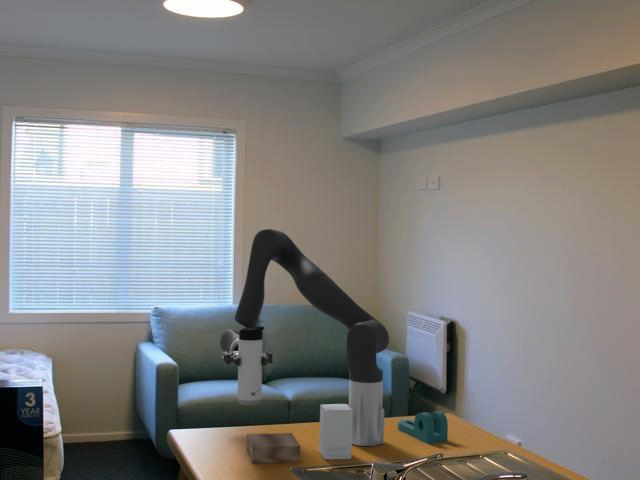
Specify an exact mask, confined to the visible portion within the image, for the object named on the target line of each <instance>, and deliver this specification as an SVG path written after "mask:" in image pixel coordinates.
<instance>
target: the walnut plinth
mask: <svg viewBox="0 0 640 480" xmlns="http://www.w3.org/2000/svg"><path fill="white" fill-rule="evenodd" d="M246 452H247V454H248V456H249V458H250V461H251V464H268V463H269V464H273V463H274V464H275V463H276V464H277V463H293V462H294V463H296V462H301V444H300V443H299V441H298V440H297V439H296V437H295V435H294V434H293V433H292V432H285V433H282V432H281V433H279V432H277V433H252V434H251V433H250V434H249V433H248V434H246Z"/></svg>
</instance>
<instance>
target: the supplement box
mask: <svg viewBox="0 0 640 480" xmlns="http://www.w3.org/2000/svg"><path fill="white" fill-rule="evenodd" d="M319 407H320V412H319V444H318V445H319V446H318V452H319V453H320V455H321V457H322V458H323V460H351V459H352V450H353V449H352V448H353V444H352V411H353V410H352V409H351V408H350V407H349V404H347V403H332V404H331V403H329V404H320V406H319Z"/></svg>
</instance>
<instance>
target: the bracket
mask: <svg viewBox="0 0 640 480" xmlns="http://www.w3.org/2000/svg"><path fill="white" fill-rule="evenodd" d="M448 423H449V422H448V419H447V415H446V414H445V413H444V412H443V411H441V410H439V411H438V410H437V411H431V412H430V413H429V412H419V413H416V415H415V417H414V419H401V420H398V421H397V430H398V431H400V432H401V433H404V434H406V435H407V436H409V437H412V438H414V439H416V440H418V441H420V442H422V443H424V444H427V445H428V444H436V443H445V442H448V434H449V433H448V432H449V426H448V425H449V424H448Z"/></svg>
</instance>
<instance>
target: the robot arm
mask: <svg viewBox="0 0 640 480" xmlns="http://www.w3.org/2000/svg"><path fill="white" fill-rule="evenodd" d="M248 261H249V262H248V266H247V270H246V271H247V272H246V278H245V283H244V287H243V290H242V293H241V297H240V299H239V303H238V306H237V308H236V311H235V315H234V320H235V322H236V323H238V324H240V325H241V326H243V327H244V328H251V327H258V323H259V322H258V321H259V318H260V315H261V312H262V309H263V306H264V302H265V291H266V290H265V279H266V273H267V271H268V270H267V269H268V266H269V265H270V263H271V261H272V262H275V263H276V264H278V265H279V266H280V267H282V268H283V269H284V270H285V271H286V272H287V273H288V274H289V275H290V276H291V278H292V280H293V282H294V284H295V286H296V288H297V289H298V291H299V293H300V294H301V295H302V296H303V297H304V298H305V299H306V301H307V302H308V303H309V304H311V306H312V307H314V308H316V310H318V311H320V312H321V313H323V314H325V315H326V316H328V317H330V318H332V319H334V320H336V321H338V322H339V323H341V324H343V325H344V326H345V327H346V328H347V329H348V332H347V335H346V367H347V370H348V373H349V375H348V376H349V382H348V383H349V385H348V406H349V407H350V408H351V409H352V410H353V411H352V445H355V446H358V447H359V446H360V447H361V446H362V447H374V446H378V445H383V444H384V443H385V441H384V439H385V409H384V408H383V392H384V391H383V390H384V389H383V388H384V387H383V385H384V384H383V382H384V372H383V369H381V368H380V367H378V364H377V363H378V362H377V354H379V353H382V352H383V351H385V350H386V349H387V348H388V346H389V343H390V335H389V333H388V330H387V328H386V327H385V325H384V324H383V323H382V322H380V320H378V319H377V318H375V317H374V316H373V315H371V314H370V313H369V312H368V311H366V310H364V309H363V307H361V306H360V305H359V304H357V302H356V301H354V299H352V298H351V296H350V295H348V294H347V293H346V292H345V291H344V290H343V289H342V288H341V287H340V286H339V285H338V283H336V282H335V281H334V280H333V279H332V278H331V277H330V276H328V274H327V273H326V272H324V271H323V270H322V269H320V267H318V265H316V264H315V263H314V262H313V261H312V260H311V259H309V258H308V257H307V256H306V255H304V253H303V252H302V251H301V250H300V248H299V247H298V246H297V245H296V244H295V243H294V242H293V240H292V239H291V237H289V236H288V234H286V233H285V232H283V231H281V230H277V229H273V228H267V227H265V228H261V229H260V230H259V231H257V232H256V233H255V235H254V237H253V241H252V244H251V250H250V256H249V260H248ZM219 346H220V350H222V351H221V362H223V363H224V364H225V365H230V364H231V363H232V365H234V366H236V367H238V366H240V358H239V356H238V353H239V330H235V329H232V328H231V329H230V328H229V329H226V330H225V331H224V332H223V333H222V335H221V336H220V339H219ZM273 356H274V354H273V351H272V350H271V349H270V350H267V351H266V352H265V353H263V352H262V367H263V366H264V367H265V366H267V365H268V364H270V365H271V364H273V359H274V358H273Z"/></svg>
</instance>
